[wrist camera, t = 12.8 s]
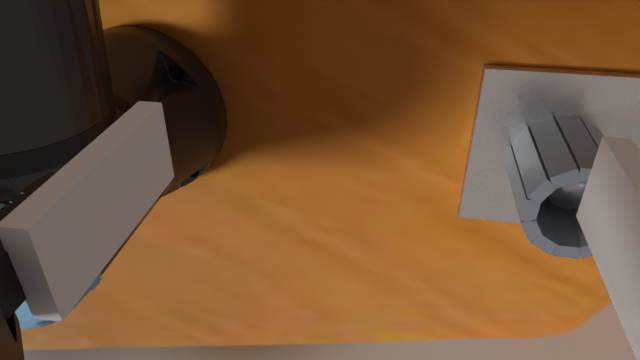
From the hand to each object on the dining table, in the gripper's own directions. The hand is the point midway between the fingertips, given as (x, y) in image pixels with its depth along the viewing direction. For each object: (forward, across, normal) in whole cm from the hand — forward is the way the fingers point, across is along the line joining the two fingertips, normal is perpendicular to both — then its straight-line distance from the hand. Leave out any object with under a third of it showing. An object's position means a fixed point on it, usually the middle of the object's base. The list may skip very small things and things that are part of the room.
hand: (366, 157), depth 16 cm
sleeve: (+26, +14, -13) cm, 32 cm away
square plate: (+27, +14, -13) cm, 33 cm away
